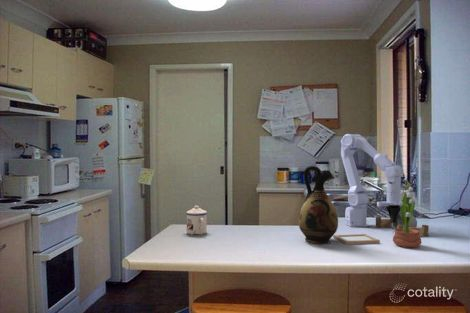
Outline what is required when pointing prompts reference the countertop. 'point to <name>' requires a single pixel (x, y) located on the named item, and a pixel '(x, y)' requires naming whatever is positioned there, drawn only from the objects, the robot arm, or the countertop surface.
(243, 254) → the countertop surface
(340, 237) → the frame lid
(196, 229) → the teacup with lid
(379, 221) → the cedar frame
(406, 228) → the potted flower
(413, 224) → the ceramic mug
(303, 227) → the ceramic jug
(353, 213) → the robot arm
